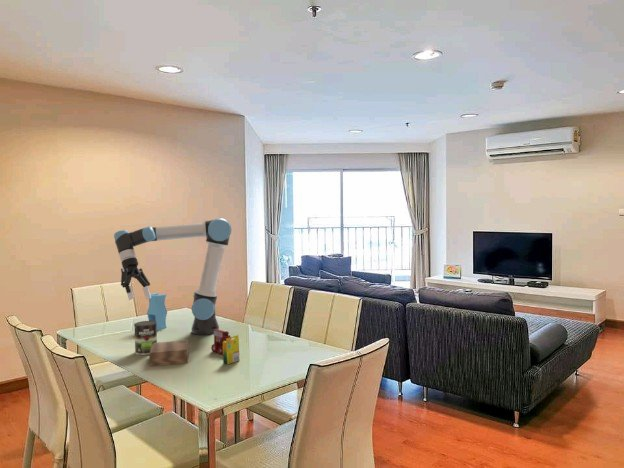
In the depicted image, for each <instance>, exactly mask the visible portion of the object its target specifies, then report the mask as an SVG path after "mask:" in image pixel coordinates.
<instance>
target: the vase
mask: <svg viewBox="0 0 624 468" xmlns="http://www.w3.org/2000/svg"><path fill="white" fill-rule="evenodd" d="M150 295H151V298H150V299H148V308H147V311H146V315H147V319H148V321H155V322H157V332H158V331H160V330H161V331H163V330H165V329H167V323H166V320H167V315H168V311H167V308H166V304H165V303H166V302H165V301H166V296H167V293H163V294H159V292H155V293H150Z"/></svg>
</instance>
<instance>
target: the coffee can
mask: <svg viewBox="0 0 624 468" xmlns="http://www.w3.org/2000/svg"><path fill="white" fill-rule="evenodd" d="M133 327H134V351H135V352H134V354H135V355H137V356H145V355H146V356H147V355H148V356H150V350H151V348H152V345H153V343H158V331H157V322H155V321H149V320H143V321H137V322H135V323H134V324H133Z"/></svg>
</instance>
